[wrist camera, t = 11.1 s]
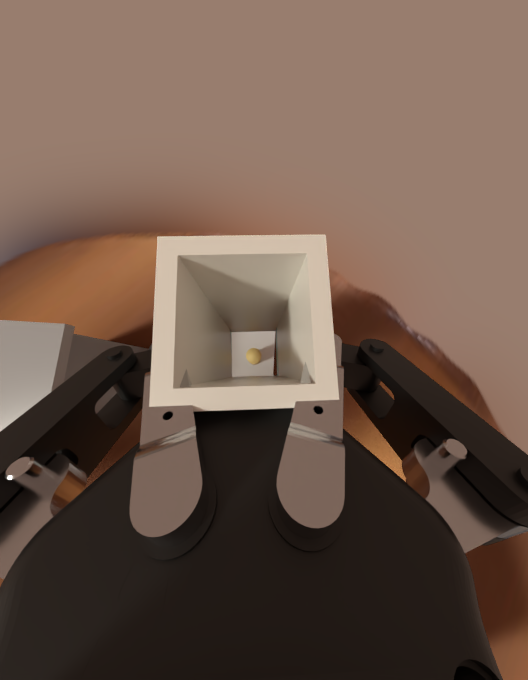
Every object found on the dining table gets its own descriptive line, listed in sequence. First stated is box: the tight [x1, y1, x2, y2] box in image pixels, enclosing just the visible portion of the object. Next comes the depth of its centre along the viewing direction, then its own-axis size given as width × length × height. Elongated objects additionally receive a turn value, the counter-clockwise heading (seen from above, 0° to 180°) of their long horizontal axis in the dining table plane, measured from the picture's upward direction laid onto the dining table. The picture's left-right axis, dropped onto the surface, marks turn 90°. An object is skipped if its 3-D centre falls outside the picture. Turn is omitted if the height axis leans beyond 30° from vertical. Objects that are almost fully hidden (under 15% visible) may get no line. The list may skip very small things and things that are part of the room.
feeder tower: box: [0, 320, 149, 431], centre depth 21 cm, size 8×8×13 cm
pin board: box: [149, 331, 275, 377], centre depth 25 cm, size 15×12×6 cm
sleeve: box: [149, 235, 339, 411], centre depth 12 cm, size 6×6×12 cm
